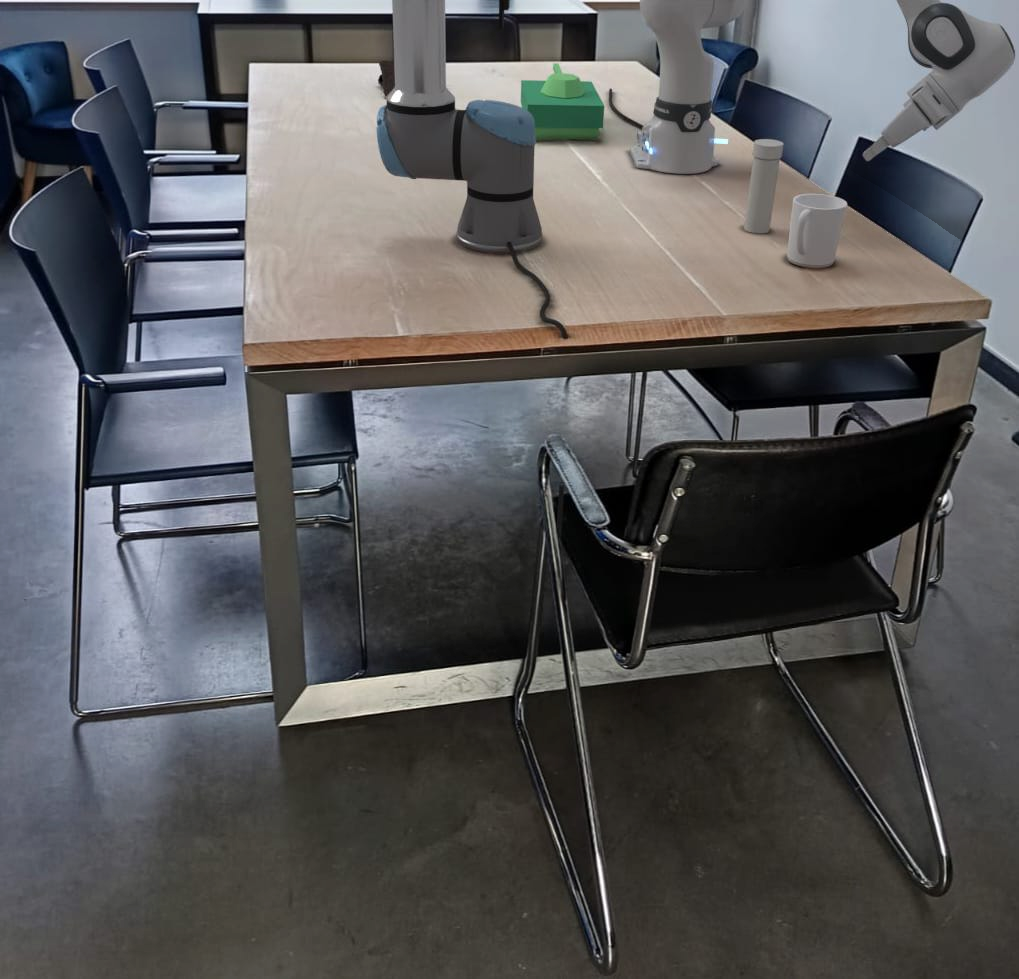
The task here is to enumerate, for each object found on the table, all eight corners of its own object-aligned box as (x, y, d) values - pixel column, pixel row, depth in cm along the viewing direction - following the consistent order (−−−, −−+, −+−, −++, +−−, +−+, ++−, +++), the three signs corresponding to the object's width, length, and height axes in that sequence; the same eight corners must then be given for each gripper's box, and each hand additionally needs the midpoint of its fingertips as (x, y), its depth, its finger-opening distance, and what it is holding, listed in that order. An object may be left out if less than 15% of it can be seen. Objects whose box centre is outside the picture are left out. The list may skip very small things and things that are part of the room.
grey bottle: (747, 233, 202) (758, 148, 194) (741, 225, 206) (752, 141, 198) (772, 233, 202) (784, 148, 194) (765, 225, 206) (778, 141, 198)
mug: (798, 248, 195) (807, 190, 190) (845, 259, 190) (856, 201, 185) (769, 263, 188) (777, 204, 182) (816, 276, 183) (827, 215, 178)
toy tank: (589, 59, 279) (605, 88, 249) (586, 109, 285) (601, 143, 256) (520, 58, 278) (528, 87, 248) (518, 108, 284) (526, 142, 255)
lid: (756, 159, 195) (758, 146, 193) (749, 151, 199) (751, 138, 198) (785, 159, 195) (787, 146, 194) (777, 152, 199) (779, 139, 198)
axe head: (443, 87, 294) (392, 77, 287) (436, 115, 299) (385, 106, 292) (421, 62, 307) (371, 52, 300) (414, 89, 311) (365, 80, 304)
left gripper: (534, -91, 215) (530, 25, 226) (409, -94, 217) (412, 20, 229) (530, -88, 209) (526, 31, 220) (401, -92, 211) (405, 26, 222)
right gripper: (917, 92, 207) (855, 143, 213) (920, 89, 189) (853, 145, 195) (937, 118, 207) (875, 168, 213) (943, 118, 189) (875, 172, 195)
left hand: (468, 26), depth 224 cm, fingers open, 13 cm apart
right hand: (864, 157), depth 204 cm, fingers open, 8 cm apart
